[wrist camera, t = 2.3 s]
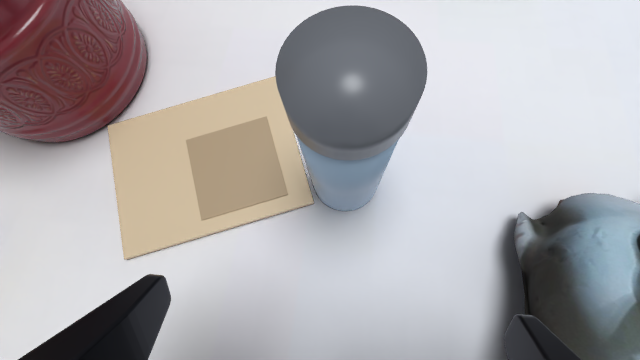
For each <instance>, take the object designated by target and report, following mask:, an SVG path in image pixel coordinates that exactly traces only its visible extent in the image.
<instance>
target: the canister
mask: <svg viewBox="0 0 640 360" xmlns="http://www.w3.org/2000/svg"><path fill="white" fill-rule="evenodd" d="M146 62H147V51H146V45H145V41H144V38H143V35H142V33H141V31H140V29H139V28H138V26H137V23H136V21H135V19H134V17H133V16H132V14H131V13H130V11H129V10H128V9H127V8H126V7H125V5H124V4H123V3H122V1H121V0H0V131H1V132H4V133H6V134H8V135H11V136H14V137H18V138H23V139H31V140H35V141H40V142H64V141H70V140H74V139H78V138H80V137H83V136H86V135H88V134H91V133H93V132H95V131H97V130H98V129H100V128H102V127H103V126H105V125H106V124H108V123H109V122H110V121H112V120H113V119H114V118H115V117H117V116H118V115H119V114H120V113H121V112H122V111H123V110H124V109H125V107H126V106H127V105H128V104H129V103H130V101H131V100H132V99H133V97H134V96H135V94H136V92H137V90H138V89H139V86H140V84H141V82H142V79H143V76H144V73H145V69H146Z"/></svg>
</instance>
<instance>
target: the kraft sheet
mask: <svg viewBox="0 0 640 360" xmlns="http://www.w3.org/2000/svg"><path fill="white" fill-rule="evenodd" d="M108 134H109V142H110V150H111V158H112V166H113V174H114V182H115V190H116V198H117V206H118V214H119V222H120V230H121V238H122V246H123V254H124V259H127V260H128V259H131V258H135V257H138V256H141V255H145V254H148V253H151V252H155V251H158V250H161V249H165V248H168V247H171V246H175V245H178V244H181V243H185V242H188V241H191V240H195V239H198V238H201V237H205V236H208V235H211V234H215V233H218V232H221V231H224V230H228V229H231V228H234V227H238V226H241V225H244V224H248V223H251V222H254V221H258V220H261V219H264V218H268V217H271V216H274V215H278V214H281V213H284V212H288V211H291V210H294V209H298V208H301V207H304V206H308V205H311V204H314V201H313V198H312V194H311V191H310V187H309V184H308V181H307V177H306V174H305V170H304V167H303V164H302V160H301V157H300V153H299V150H298V146H297V143H296V140H295V136H294V133H293V129H292V127H291V125H290V122H289V120H288V117H287V114H286V111H285V109H284V106H283V103H282V100H281V97H280V94H279V92H278V88H277V84H276V76H275V77H271V78H268V79H264V80H261V81H258V82H254V83H251V84H247V85H244V86H241V87H237V88H234V89H230V90H227V91H224V92H220V93H217V94H213V95H210V96H207V97H203V98H200V99H196V100H193V101H190V102H186V103H183V104H179V105H176V106H173V107H169V108H166V109H162V110H159V111H156V112H152V113H149V114H145V115H142V116H139V117H135V118H132V119H128V120H125V121H122V122H118V123H115V124H111V125H108Z"/></svg>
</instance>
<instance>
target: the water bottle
mask: <svg viewBox="0 0 640 360" xmlns="http://www.w3.org/2000/svg"><path fill="white" fill-rule="evenodd" d="M275 73H276V84H277V88H278V92H279V94H280V97H281V100H282V103H283V106H284V109H285V111H286V114H287V117H288V120H289V122H290V125H291V127H292V129H293V131H294V133H295V134H296V135H297V138H298V141H299V144H300V147H301V150H302V153H303V156H304V159H305V162H306V165H307V168H308V171H309V174H310V177H311V180H312V183H313V186H314V189H315V191H316V194H317V195H318V197H319V198H320V200H321V201H322V202H323V203H324V204H326V205H327V206H329V207H330V208H333V209H336V210H340V211H352V210H356V209H358V208H360V207H362V206H364V205H365V204H367V203H368V202H369V201H370V200H371V198H372V197H373V195H374V193H375V191H376V189H377V187H378V184H379V182H380V180H381V178H382V175H383V173H384V171H385V169H386V166H387V164H388V162H389V160H390V157H391V155H392V153H393V151H394V148H395V146H396V144H397V142H398V139H399V138H400V137H401V136H402V134H403V133H404V131H405V130H406V128H407V126H408V124H409V122H410V120H411V118H412V115H413V113H414V111H415V109H416V107H417V105H418V103H419V100H420V98H421V96H422V94H423V91H424V88H425V84H426V78H427V63H426V58H425V54H424V51H423V48H422V46H421V44H420V42H419V40H418V39H417V37H416V36H415V35H414V33H413V32H412V31H411V30H410V29H409V28H408V27H407V26H406V25H405V24H404V23H403V22H401V21H400V20H399V19H397V18H395V17H394V16H392V15H390V14H388V13H386V12H384V11H381V10H378V9H375V8H370V7H365V6H341V7H335V8H331V9H327V10H324V11H321V12H319V13H317V14H315V15H313V16H311V17H309V18H308V19H306V20H304V21H303V22H302V23H301V24H299V25H298V26H297V27H296V28H295V29H294V30H293V31H292V32H291V33H290V35H289V36H288V37H287V39H286V40H285V42H284V44H283V45H282V47H281V50H280V52H279V55H278V58H277V63H276V72H275Z"/></svg>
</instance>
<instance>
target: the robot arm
mask: <svg viewBox="0 0 640 360" xmlns="http://www.w3.org/2000/svg"><path fill="white" fill-rule="evenodd" d="M170 302H171V295H170V291H169V288H168V285H167V281H166V278H165V277H164V276H162V275H154V274H149V275H146V276H145V277H143V278H141V279H140V280H138V281H137V282H135V283H134V284H132V285H131V286H129V287H128V288H126V289H125V290H123V291H122V292H120V293H119V294H117V295H116V296H114V297H113V298H111V299H110V300H108V301H106V302H105V303H103V304H102V305H100V306H99V307H97V308H96V309H94V310H93V311H91V312H90V313H88V314H87V315H85V316H84V317H82V318H81V319H79V320H78V321H76V322H75V323H73V324H72V325H70V326H68V327H67V328H65V329H64V330H62V331H61V332H59V333H58V334H56V335H55V336H53V337H52V338H50V339H49V340H47V341H46V342H44V343H43V344H41V345H40V346H38V347H37V348H35V349H34V350H32V351H30V352H29V353H27V354H26V355H24V356H23V357H21V358H20V359H18V360H148V358H149V355H150V353H151V351H152V348H153V346H154V343H155V341H156V338H157V336H158V333H159V331H160V328H161V326H162V323H163V321H164V318H165V316H166V313H167V311H168V308H169V306H170ZM504 343H505V348H506V353H507V357H508V360H581V359H580V358H579V357H578V356H577V355H576V354H575V353H574V352H573V351H572V350H571V349H570V348H569V347H567V346H566V345H565V344H564V343H563V342H562V341H561V340H560V339H559V338H558V337H557V336H556V335H555V334H554V333H552V332H551V331H550V330H549V329H548V328H547V327H546V326H545V325H544V324H543V323H542V322H541V321H540V320H539V319H537V318H536V317H534V316H532V315H524V314H516V315H515V316H514V317H513V319H512V321H511V323H510V325H509V327H508V329H507V331H506V333H505V336H504Z"/></svg>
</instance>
